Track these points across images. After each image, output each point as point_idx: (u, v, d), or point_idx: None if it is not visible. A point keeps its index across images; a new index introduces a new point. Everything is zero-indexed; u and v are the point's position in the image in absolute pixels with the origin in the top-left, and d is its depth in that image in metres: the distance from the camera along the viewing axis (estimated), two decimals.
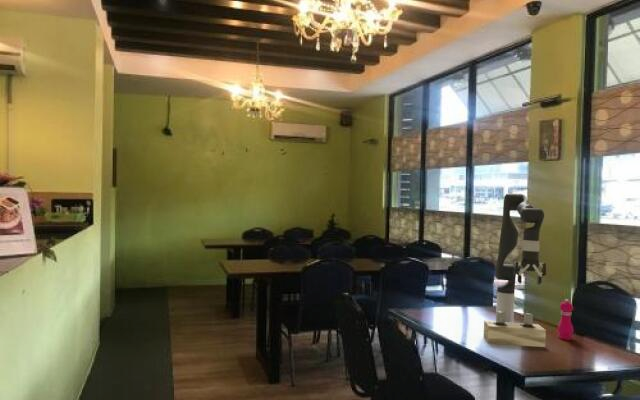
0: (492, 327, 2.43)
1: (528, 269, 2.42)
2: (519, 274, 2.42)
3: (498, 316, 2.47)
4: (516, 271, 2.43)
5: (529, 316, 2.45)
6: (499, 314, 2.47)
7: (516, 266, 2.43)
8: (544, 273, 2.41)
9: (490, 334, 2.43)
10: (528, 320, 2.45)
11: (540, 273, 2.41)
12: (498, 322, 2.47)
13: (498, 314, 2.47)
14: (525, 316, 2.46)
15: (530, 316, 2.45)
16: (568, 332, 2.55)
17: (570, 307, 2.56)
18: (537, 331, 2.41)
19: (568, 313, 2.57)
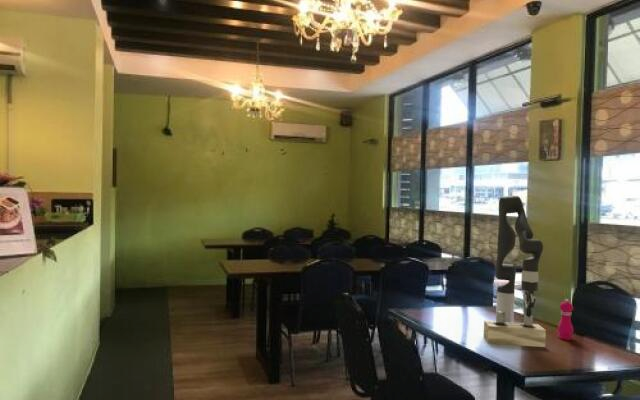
0: (492, 327, 2.43)
1: None
2: (531, 307, 2.46)
3: (498, 316, 2.47)
4: None
5: (529, 318, 2.45)
6: (499, 314, 2.47)
7: None
8: None
9: (490, 334, 2.43)
10: (528, 322, 2.45)
11: None
12: (498, 322, 2.47)
13: (498, 314, 2.47)
14: (525, 318, 2.46)
15: (530, 318, 2.45)
16: (568, 332, 2.55)
17: (570, 307, 2.56)
18: (537, 331, 2.41)
19: (568, 313, 2.57)
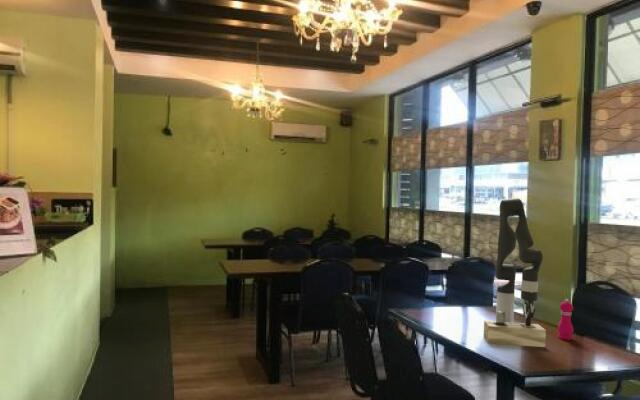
0: (492, 327, 2.43)
1: None
2: None
3: (498, 316, 2.47)
4: None
5: None
6: (499, 314, 2.47)
7: (533, 312, 2.42)
8: None
9: (490, 334, 2.43)
10: None
11: None
12: (498, 322, 2.47)
13: (498, 314, 2.47)
14: None
15: None
16: (568, 332, 2.55)
17: (570, 307, 2.56)
18: (537, 331, 2.41)
19: (568, 313, 2.57)
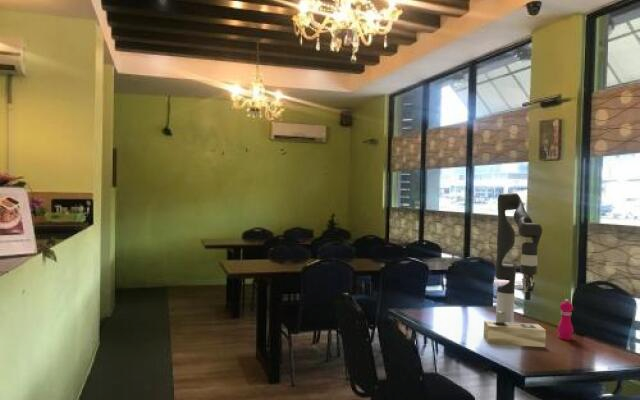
0: (492, 327, 2.43)
1: None
2: None
3: (498, 316, 2.47)
4: None
5: None
6: (499, 314, 2.47)
7: None
8: None
9: (490, 334, 2.43)
10: None
11: None
12: (498, 322, 2.47)
13: (498, 314, 2.47)
14: None
15: None
16: (568, 332, 2.55)
17: (570, 307, 2.56)
18: (537, 331, 2.41)
19: (568, 313, 2.57)
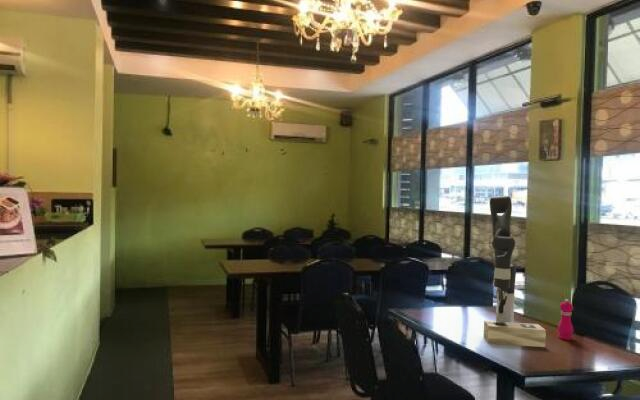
0: (492, 327, 2.43)
1: None
2: (504, 304, 2.47)
3: (498, 317, 2.47)
4: None
5: None
6: (499, 315, 2.47)
7: (506, 299, 2.44)
8: None
9: (490, 334, 2.43)
10: None
11: None
12: (498, 323, 2.47)
13: (498, 315, 2.47)
14: None
15: None
16: (568, 332, 2.55)
17: (570, 307, 2.56)
18: (537, 331, 2.41)
19: (568, 313, 2.57)
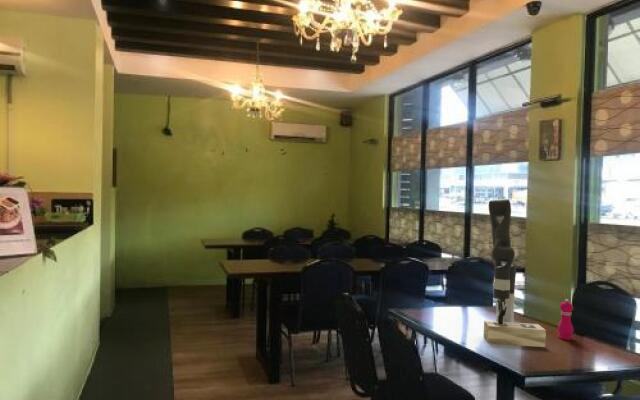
0: (492, 327, 2.43)
1: None
2: None
3: None
4: (504, 313, 2.45)
5: None
6: None
7: (505, 310, 2.44)
8: None
9: (490, 334, 2.43)
10: None
11: None
12: None
13: None
14: None
15: None
16: (568, 332, 2.55)
17: (570, 307, 2.56)
18: (537, 331, 2.41)
19: (568, 313, 2.57)
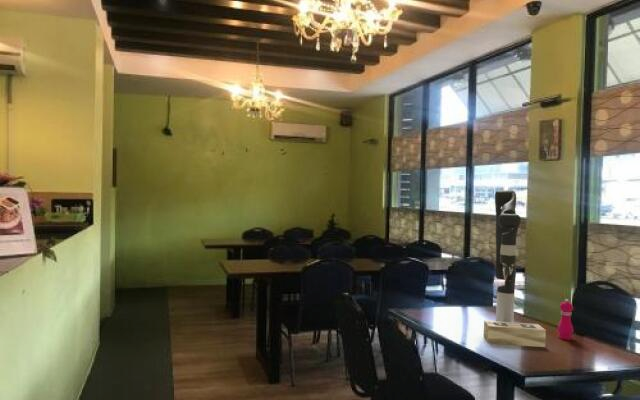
0: (492, 327, 2.43)
1: None
2: None
3: None
4: None
5: None
6: None
7: None
8: None
9: (490, 334, 2.43)
10: None
11: (509, 277, 2.55)
12: None
13: None
14: None
15: None
16: (568, 332, 2.55)
17: (570, 307, 2.56)
18: (537, 331, 2.41)
19: (568, 313, 2.57)
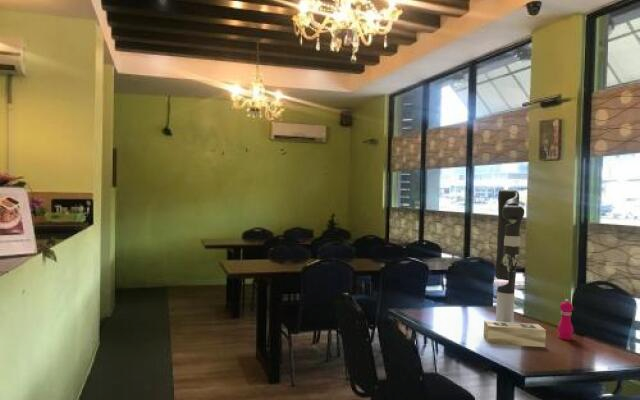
0: (492, 327, 2.43)
1: None
2: (513, 270, 2.57)
3: None
4: None
5: None
6: None
7: (515, 265, 2.54)
8: None
9: (490, 334, 2.43)
10: None
11: (512, 268, 2.59)
12: None
13: None
14: None
15: None
16: (568, 332, 2.55)
17: (570, 307, 2.56)
18: (537, 331, 2.41)
19: (568, 313, 2.57)
